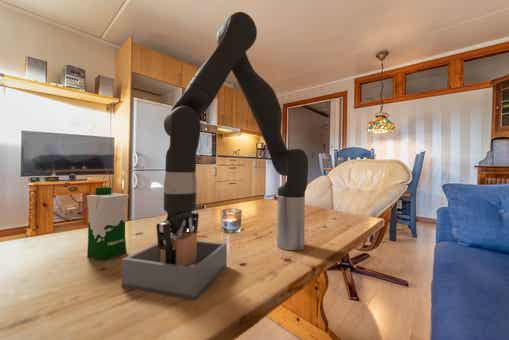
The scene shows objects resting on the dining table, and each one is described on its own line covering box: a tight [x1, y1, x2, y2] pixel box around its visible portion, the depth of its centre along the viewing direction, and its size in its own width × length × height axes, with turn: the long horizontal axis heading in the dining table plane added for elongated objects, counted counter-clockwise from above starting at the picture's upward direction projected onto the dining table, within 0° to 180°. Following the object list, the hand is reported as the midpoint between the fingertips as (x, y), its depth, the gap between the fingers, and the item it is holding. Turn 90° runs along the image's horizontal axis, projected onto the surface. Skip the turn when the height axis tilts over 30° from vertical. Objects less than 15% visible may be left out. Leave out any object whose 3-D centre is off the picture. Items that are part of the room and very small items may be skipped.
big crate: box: [120, 240, 228, 301], centre depth 52 cm, size 18×16×6 cm
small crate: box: [160, 232, 198, 267], centre depth 52 cm, size 6×6×7 cm
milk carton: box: [86, 186, 130, 262], centre depth 65 cm, size 9×9×20 cm
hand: (179, 259), depth 52 cm, fingers closed on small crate, 6 cm apart
